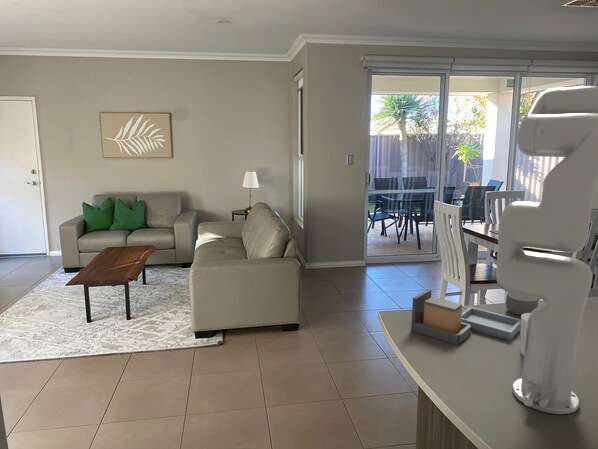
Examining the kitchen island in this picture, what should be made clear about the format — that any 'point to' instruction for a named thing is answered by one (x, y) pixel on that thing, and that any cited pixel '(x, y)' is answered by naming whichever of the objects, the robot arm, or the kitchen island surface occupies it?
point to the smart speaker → (520, 303)
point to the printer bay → (431, 331)
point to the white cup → (523, 331)
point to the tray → (491, 323)
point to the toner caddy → (442, 314)
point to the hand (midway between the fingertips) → (593, 228)
